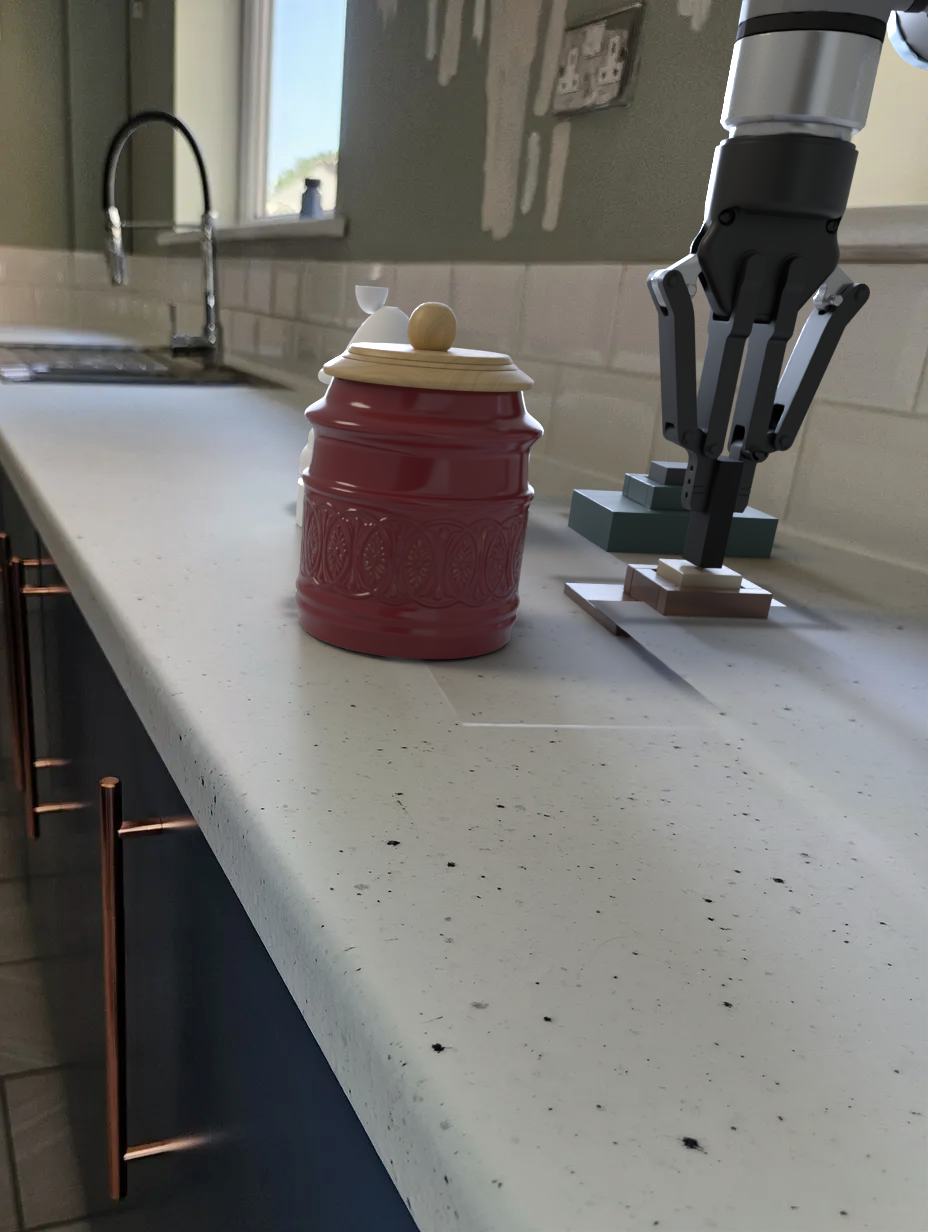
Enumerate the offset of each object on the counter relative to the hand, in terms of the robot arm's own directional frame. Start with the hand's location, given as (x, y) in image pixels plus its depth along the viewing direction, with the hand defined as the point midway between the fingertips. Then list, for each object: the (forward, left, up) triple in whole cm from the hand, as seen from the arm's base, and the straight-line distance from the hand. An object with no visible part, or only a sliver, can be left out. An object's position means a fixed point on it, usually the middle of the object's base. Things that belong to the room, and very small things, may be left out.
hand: (701, 562), depth 72 cm
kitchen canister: (+20, +5, -4) cm, 21 cm away
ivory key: (0, 0, -2) cm, 2 cm away
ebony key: (-8, -24, +1) cm, 25 cm away
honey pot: (+17, -25, -4) cm, 31 cm away
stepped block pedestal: (0, 0, -4) cm, 4 cm away
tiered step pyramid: (-8, -24, -4) cm, 25 cm away
